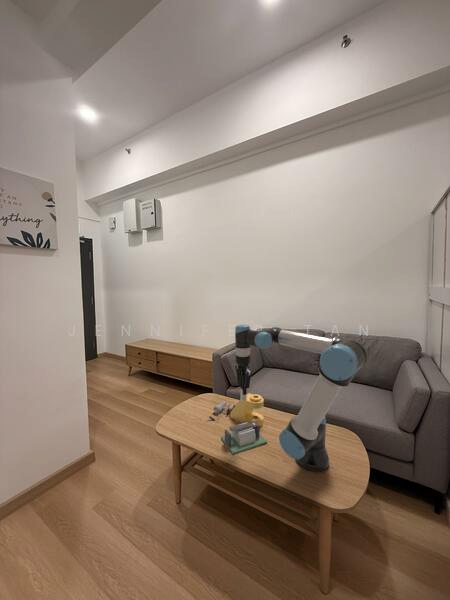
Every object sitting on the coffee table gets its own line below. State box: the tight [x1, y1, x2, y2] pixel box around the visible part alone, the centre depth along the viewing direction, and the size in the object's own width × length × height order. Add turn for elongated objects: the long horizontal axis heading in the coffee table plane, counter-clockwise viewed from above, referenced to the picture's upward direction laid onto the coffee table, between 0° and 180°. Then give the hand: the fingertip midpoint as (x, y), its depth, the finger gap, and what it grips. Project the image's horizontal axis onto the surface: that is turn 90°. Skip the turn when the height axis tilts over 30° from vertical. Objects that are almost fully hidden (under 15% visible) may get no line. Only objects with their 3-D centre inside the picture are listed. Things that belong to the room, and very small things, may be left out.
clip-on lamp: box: [207, 400, 236, 422], centre depth 156 cm, size 12×6×18 cm
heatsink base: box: [220, 421, 268, 455], centre depth 130 cm, size 20×14×8 cm
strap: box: [228, 421, 256, 432], centre depth 129 cm, size 15×4×1 cm, turn 115°
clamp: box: [229, 392, 265, 428], centre depth 150 cm, size 20×9×16 cm, turn 53°
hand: (243, 399), depth 127 cm, fingers closed
